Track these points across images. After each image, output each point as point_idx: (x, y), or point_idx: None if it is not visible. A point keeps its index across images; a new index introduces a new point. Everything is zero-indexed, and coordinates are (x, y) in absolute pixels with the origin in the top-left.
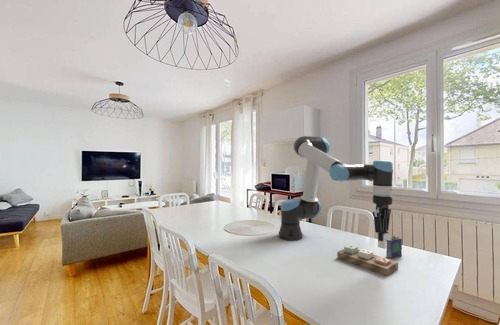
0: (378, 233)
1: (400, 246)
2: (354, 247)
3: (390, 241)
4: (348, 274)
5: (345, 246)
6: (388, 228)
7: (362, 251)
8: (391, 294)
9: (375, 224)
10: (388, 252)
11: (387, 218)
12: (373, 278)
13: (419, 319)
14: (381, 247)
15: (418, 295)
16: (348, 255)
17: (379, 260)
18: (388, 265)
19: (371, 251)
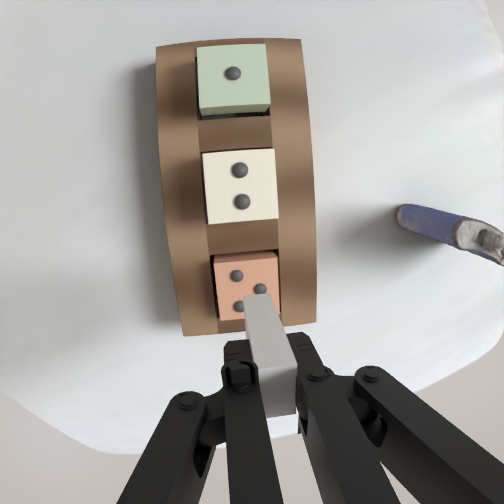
0: (223, 389)
1: (474, 253)
2: (243, 94)
3: (454, 246)
4: (55, 218)
5: (204, 51)
6: (378, 422)
7: (218, 172)
8: (87, 378)
9: (135, 485)
10: (411, 223)
11: (432, 501)
12: (116, 298)
13: (70, 435)
14: (245, 323)
15: (157, 419)
16: (161, 113)
17: (219, 286)
18: (230, 321)
19: (274, 208)
